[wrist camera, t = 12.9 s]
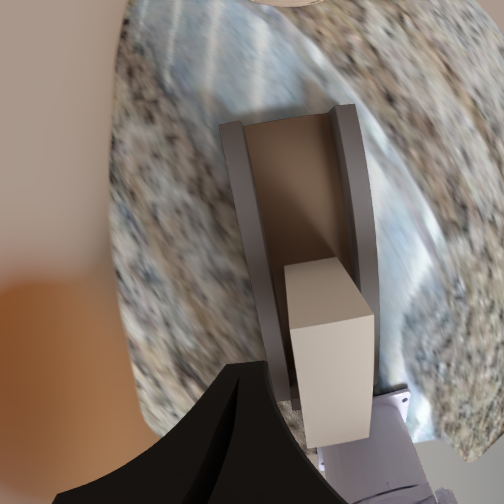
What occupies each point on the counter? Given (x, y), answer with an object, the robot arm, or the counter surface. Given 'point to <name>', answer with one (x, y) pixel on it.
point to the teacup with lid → (287, 2)
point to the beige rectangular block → (331, 351)
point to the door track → (301, 217)
